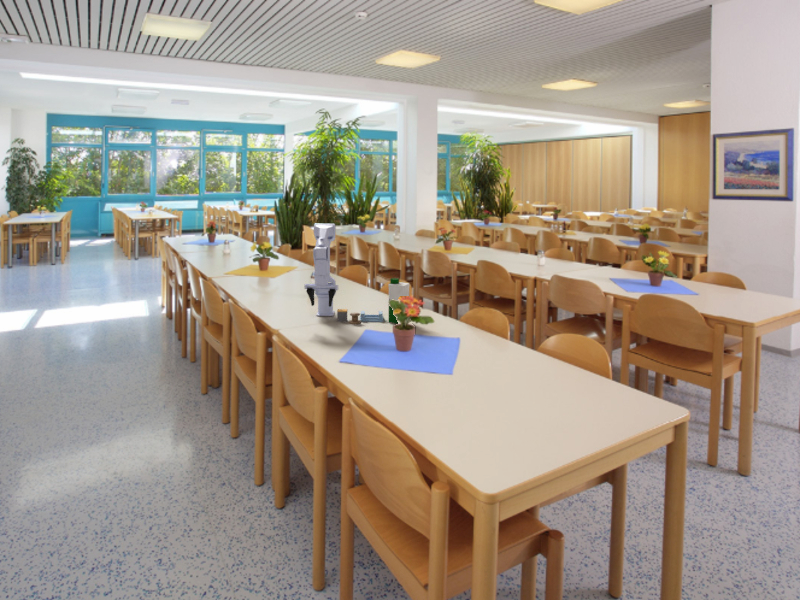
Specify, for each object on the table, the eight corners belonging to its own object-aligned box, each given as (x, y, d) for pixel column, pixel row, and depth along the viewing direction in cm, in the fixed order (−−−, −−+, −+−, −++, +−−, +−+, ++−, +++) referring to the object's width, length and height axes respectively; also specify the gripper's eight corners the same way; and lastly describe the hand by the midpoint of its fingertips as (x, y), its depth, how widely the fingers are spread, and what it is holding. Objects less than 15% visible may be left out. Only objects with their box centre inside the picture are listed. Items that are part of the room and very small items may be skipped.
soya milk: (392, 318, 267) (393, 277, 263) (410, 320, 264) (411, 278, 260) (386, 322, 259) (386, 279, 255) (404, 324, 256) (405, 281, 252)
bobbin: (349, 321, 260) (349, 312, 260) (360, 321, 261) (360, 312, 260) (348, 323, 255) (348, 314, 255) (360, 324, 256) (360, 315, 255)
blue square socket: (360, 317, 269) (360, 310, 268) (383, 317, 269) (383, 310, 269) (359, 321, 260) (359, 314, 259) (383, 321, 260) (383, 314, 260)
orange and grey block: (337, 319, 263) (337, 309, 262) (347, 320, 263) (347, 309, 262) (337, 321, 260) (337, 310, 259) (346, 321, 260) (346, 310, 259)
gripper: (302, 275, 240) (302, 306, 242) (335, 276, 238) (335, 308, 241) (306, 273, 247) (307, 303, 249) (339, 274, 245) (339, 304, 248)
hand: (321, 305), depth 246 cm, fingers open, 7 cm apart
